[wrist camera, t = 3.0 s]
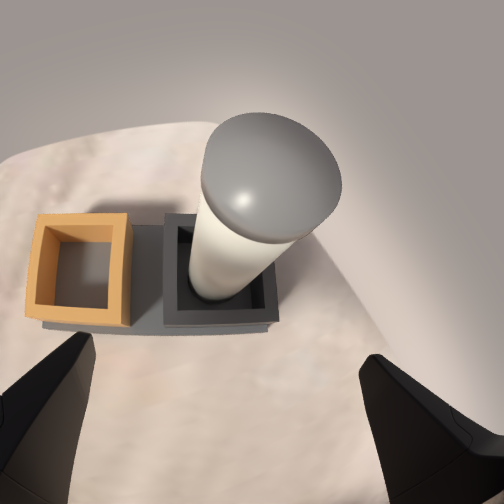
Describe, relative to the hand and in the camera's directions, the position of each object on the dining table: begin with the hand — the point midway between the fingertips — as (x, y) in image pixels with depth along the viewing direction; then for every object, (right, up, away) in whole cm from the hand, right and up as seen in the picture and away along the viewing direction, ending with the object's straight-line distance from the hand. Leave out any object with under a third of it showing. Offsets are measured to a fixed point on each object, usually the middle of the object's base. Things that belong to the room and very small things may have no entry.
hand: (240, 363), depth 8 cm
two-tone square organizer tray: (-7, +1, +11) cm, 13 cm away
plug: (-2, +2, +11) cm, 11 cm away
